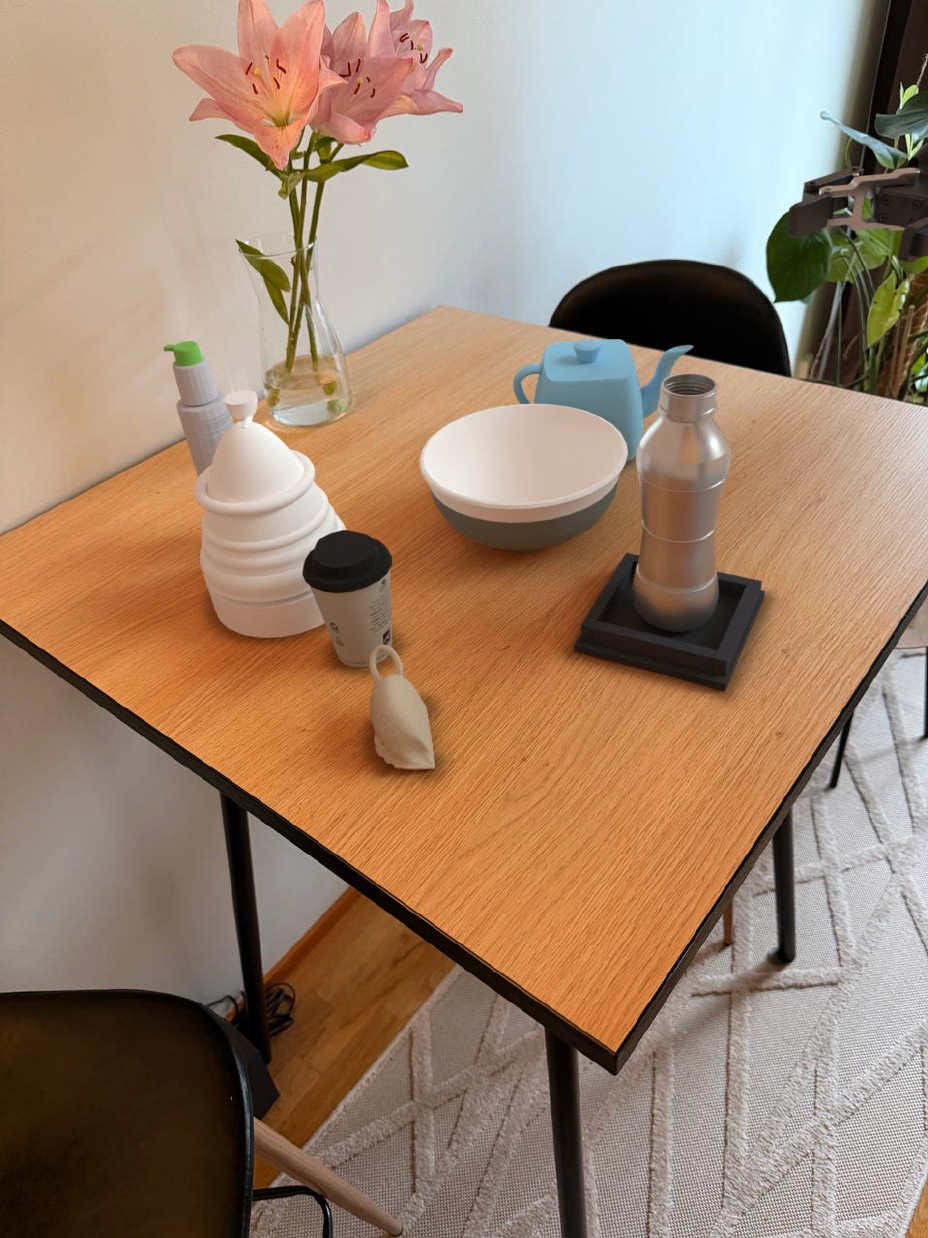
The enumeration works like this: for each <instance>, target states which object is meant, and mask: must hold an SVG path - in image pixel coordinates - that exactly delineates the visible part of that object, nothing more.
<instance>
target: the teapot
mask: <svg viewBox="0 0 928 1238" xmlns="http://www.w3.org/2000/svg"><path fill="white" fill-rule="evenodd" d="M693 348H694V345H692V344H686V345H679V346H674V347H672V348H670V349H668V350H666V351H665V352H664V353H663V354H662V355H661V357H660V358H659V360H658V362H657V365H656V368H655V372H654V374H653V377H652V379H651V380H650V381H649V382H648V383H647V384H645V385H643V386H641V384H640V380H639V376H638V371H637V368H636V364H635V361H634V358H633V355H632V354H633V353H632V352H631V349H630V347H629V345H628V344H627V343H626V342H625V341H624V340H623V339H614V338H613V339H593V338H586V339H581V340H573V341H564V342H563V341H561V342H560V341H559V342H552V343H549V345H548V346H546V347H545V350H544V352H543V356H542V360H541V363H537V362H535V363H529V364H526V365H525V366H523V367H522V368H520V369H519V370H518V371H517V372H516V374H515V375H514V377H513V381H512V389H513V392H514V395H515V397H516V399H517V402H518V403H519V404H531V402H530V401H529V399H528V398H527V396H526V393H525V392H524V390H523V386H522V381H523V380H524V379H525V378H526V377H528V376H531V375H536V374H537V375H538V376H537V381H536V385H535V389H534V390H535V391H534V398H533V404H551V405H559V406H566V407H572V408H576V409H579V410H583V411H587V412H589V413H592V414H594V415H597V416H599V417H601V418H603V419H604V420H606V421H608V422H609V423H611V424H612V425H613V426H614V427H615V428H616V429H617V430H618V431H620V433H621V434H622V436H623V438H624V440H625V442H626V443H627V450H628V456H627V459H626V462H631V461H632V460H633V459H634V458H635V457H636V452H637V448H638V445H639V443H640V440H641V438H642V436H643V432H644V419H646V418H648V417H649V416H652V414H653V413H655V412H656V411H658V401H659V399H660V388H661V384H662V381H663V380H664V379H665V378H667V377H669V376H671V373H672V370H673V367H674V366H675V364H676V362H677V361H678V360H679V359H680V357H682V356H683V355H685V354H686V353H687V352H689V351H690V350H692V349H693Z"/></svg>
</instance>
